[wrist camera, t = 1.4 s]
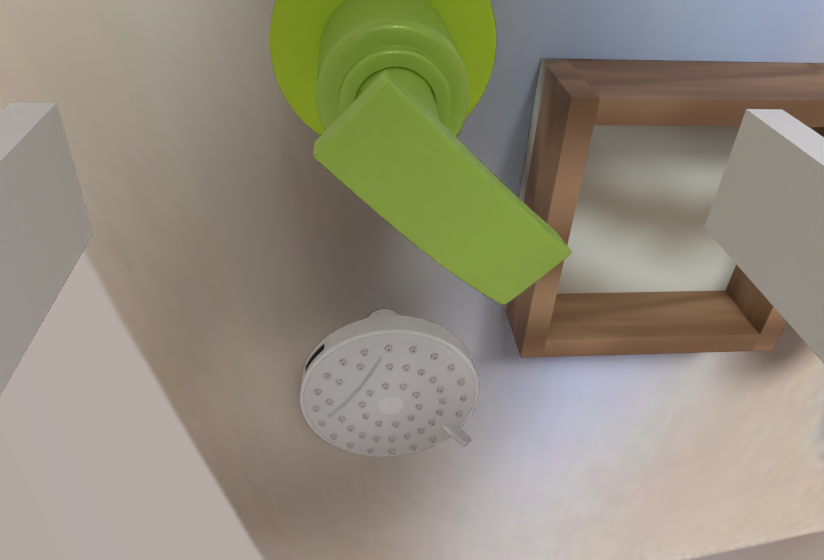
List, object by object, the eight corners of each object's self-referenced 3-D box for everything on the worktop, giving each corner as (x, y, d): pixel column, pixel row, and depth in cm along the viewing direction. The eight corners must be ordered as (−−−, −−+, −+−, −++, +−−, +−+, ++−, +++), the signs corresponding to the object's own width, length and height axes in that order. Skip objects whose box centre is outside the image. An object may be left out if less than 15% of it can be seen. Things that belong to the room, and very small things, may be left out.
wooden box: (541, 58, 31) (571, 97, 27) (827, 63, 32) (896, 101, 28) (502, 300, 39) (521, 357, 35) (729, 295, 41) (772, 350, 37)
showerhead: (420, 493, 38) (264, 436, 34) (409, 401, 44) (275, 342, 40) (528, 394, 34) (365, 315, 30) (500, 307, 39) (361, 230, 35)
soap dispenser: (386, 70, 30) (439, 374, 14) (267, -44, 27) (163, 183, 11) (480, -27, 28) (667, 201, 12) (363, -165, 25) (409, -99, 9)
